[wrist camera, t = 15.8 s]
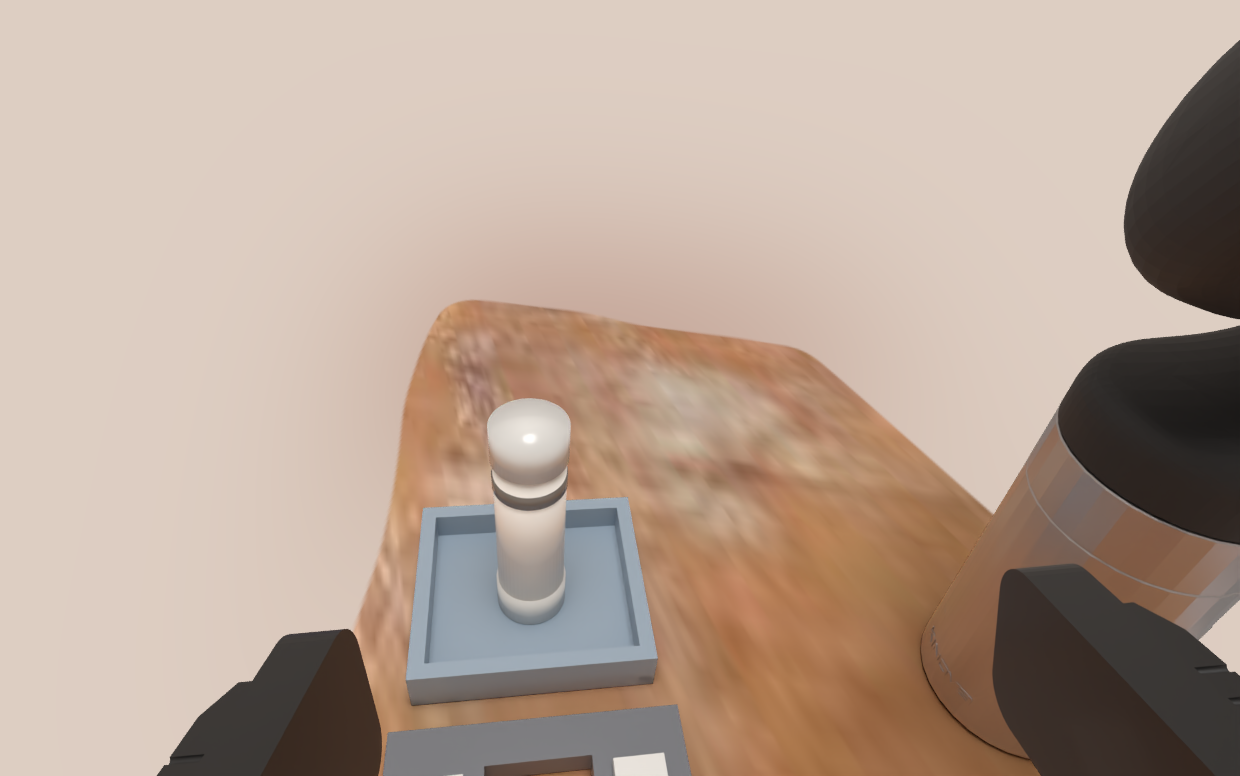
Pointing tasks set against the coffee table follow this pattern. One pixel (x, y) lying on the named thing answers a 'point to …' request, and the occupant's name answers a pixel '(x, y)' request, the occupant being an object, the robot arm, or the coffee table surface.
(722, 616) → the coffee table surface
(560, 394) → the coffee table surface
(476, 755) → the block
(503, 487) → the fuse
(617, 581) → the parts tray
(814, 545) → the coffee table surface
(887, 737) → the coffee table surface
